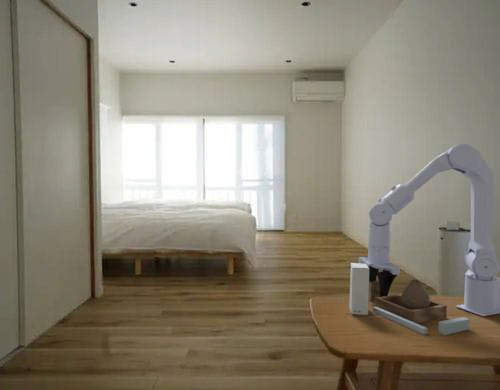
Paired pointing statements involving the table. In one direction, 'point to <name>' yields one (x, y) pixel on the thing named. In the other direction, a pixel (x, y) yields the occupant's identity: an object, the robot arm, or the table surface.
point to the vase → (415, 296)
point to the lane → (444, 327)
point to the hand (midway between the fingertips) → (377, 294)
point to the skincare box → (359, 288)
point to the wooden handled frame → (394, 306)
